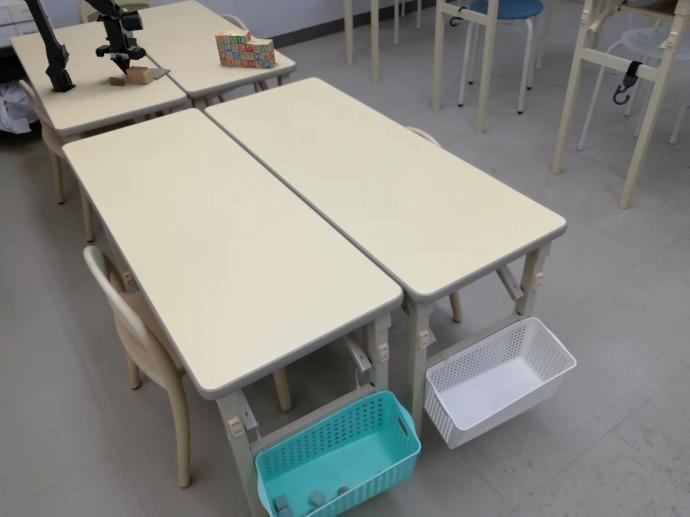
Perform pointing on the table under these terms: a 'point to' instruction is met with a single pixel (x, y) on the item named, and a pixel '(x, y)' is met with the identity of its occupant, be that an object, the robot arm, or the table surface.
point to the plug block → (139, 75)
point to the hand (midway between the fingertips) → (127, 74)
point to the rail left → (117, 81)
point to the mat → (159, 72)
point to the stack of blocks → (244, 50)
